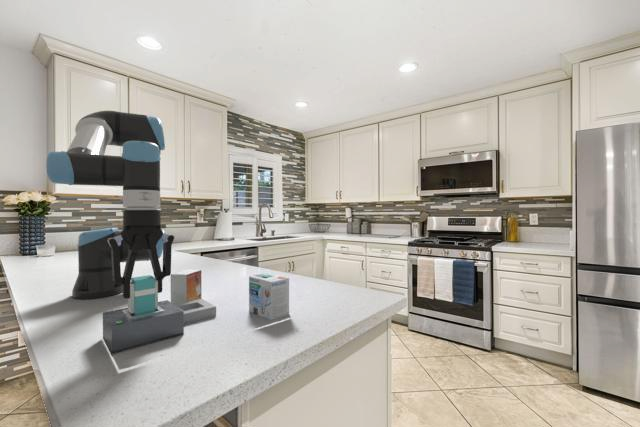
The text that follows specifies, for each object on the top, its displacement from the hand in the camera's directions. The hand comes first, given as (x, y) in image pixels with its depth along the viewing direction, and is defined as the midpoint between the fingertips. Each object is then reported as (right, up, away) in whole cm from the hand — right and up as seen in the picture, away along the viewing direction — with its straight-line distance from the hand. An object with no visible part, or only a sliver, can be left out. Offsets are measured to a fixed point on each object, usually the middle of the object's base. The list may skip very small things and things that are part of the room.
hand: (143, 309), depth 70 cm
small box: (-1, -7, +24) cm, 25 cm away
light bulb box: (+27, -7, +15) cm, 32 cm away
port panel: (0, -7, 0) cm, 7 cm away
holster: (+5, -6, +13) cm, 16 cm away
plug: (0, -5, 0) cm, 5 cm away
